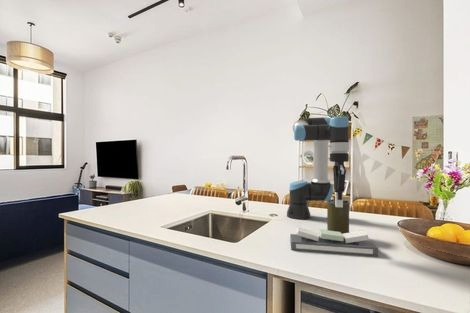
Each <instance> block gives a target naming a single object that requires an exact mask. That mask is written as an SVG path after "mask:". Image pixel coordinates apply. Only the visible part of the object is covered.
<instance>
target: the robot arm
mask: <svg viewBox="0 0 470 313" xmlns="http://www.w3.org/2000/svg"><path fill="white" fill-rule="evenodd" d="M349 121H350V120H349V117H348V116H342V115H341V116H340V115H338V116H333V117H327V116H325V117H304V118H301V119H297V120H296V121H295V122H294V124H293V126H292V131H293V137H294V138H293V139H294V141H297V142H298V141H300V142H304V141H305V142H306V141H313V178H312V179H311V180H310V182H308V180H297V181H292V182H290V184H289V188H288V190H289V205H288V208H287V211H286V216H287V217H288V218H290V219H295V220H307V219H310V218H311V211H310V208H309V205H308V204H309V203H308V202H327V201H328V200H332V199H333V198H332V197H333V192H334V194H335V195H334V196H335V207H343V200H344V198H343V197H344V196H343V195H344V193H345V188H346V187H345V185H346V174H347V170H346V166H345V163H348V162H349V160H350V159H349V158H350V156H349V155H350V154H349V152H350V151H349V150H350V142H349V141H350V137H349V136H350V135H349V134H350V122H349ZM329 152H330V154H329ZM329 161H330V162H331V163H333V162H334V165H333V167H332V172H333V173H332V174H333V184H332V183H331V181H330V179H328V173H329V169H328V168H329Z"/></svg>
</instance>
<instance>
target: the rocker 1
mask: <svg viewBox="0 0 470 313" xmlns="http://www.w3.org/2000/svg"><path fill="white" fill-rule="evenodd" d="M295 230H296V234H297V235H299V236H302V237H305V238H309V239H312V240H315V241H318V240H319V236H320V235H319V232H318V231H317V232H316V231H314V230H310V229H307V228H303V227H301V226H297V227H296V229H295Z"/></svg>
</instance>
